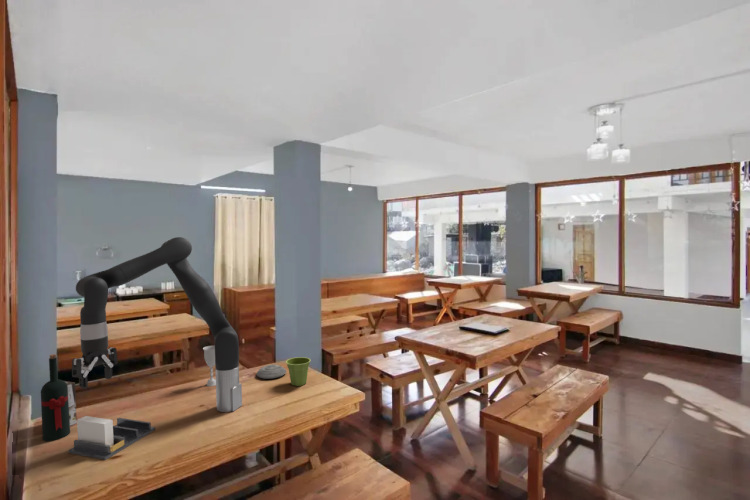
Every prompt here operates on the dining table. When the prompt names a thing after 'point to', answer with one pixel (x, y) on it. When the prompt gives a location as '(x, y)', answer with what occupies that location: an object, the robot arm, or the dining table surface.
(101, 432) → the panel
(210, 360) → the chalice
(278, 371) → the grey stone
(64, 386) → the wine bottle
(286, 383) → the dining table surface
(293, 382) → the plant pot
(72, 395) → the coffee box
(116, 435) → the rack
